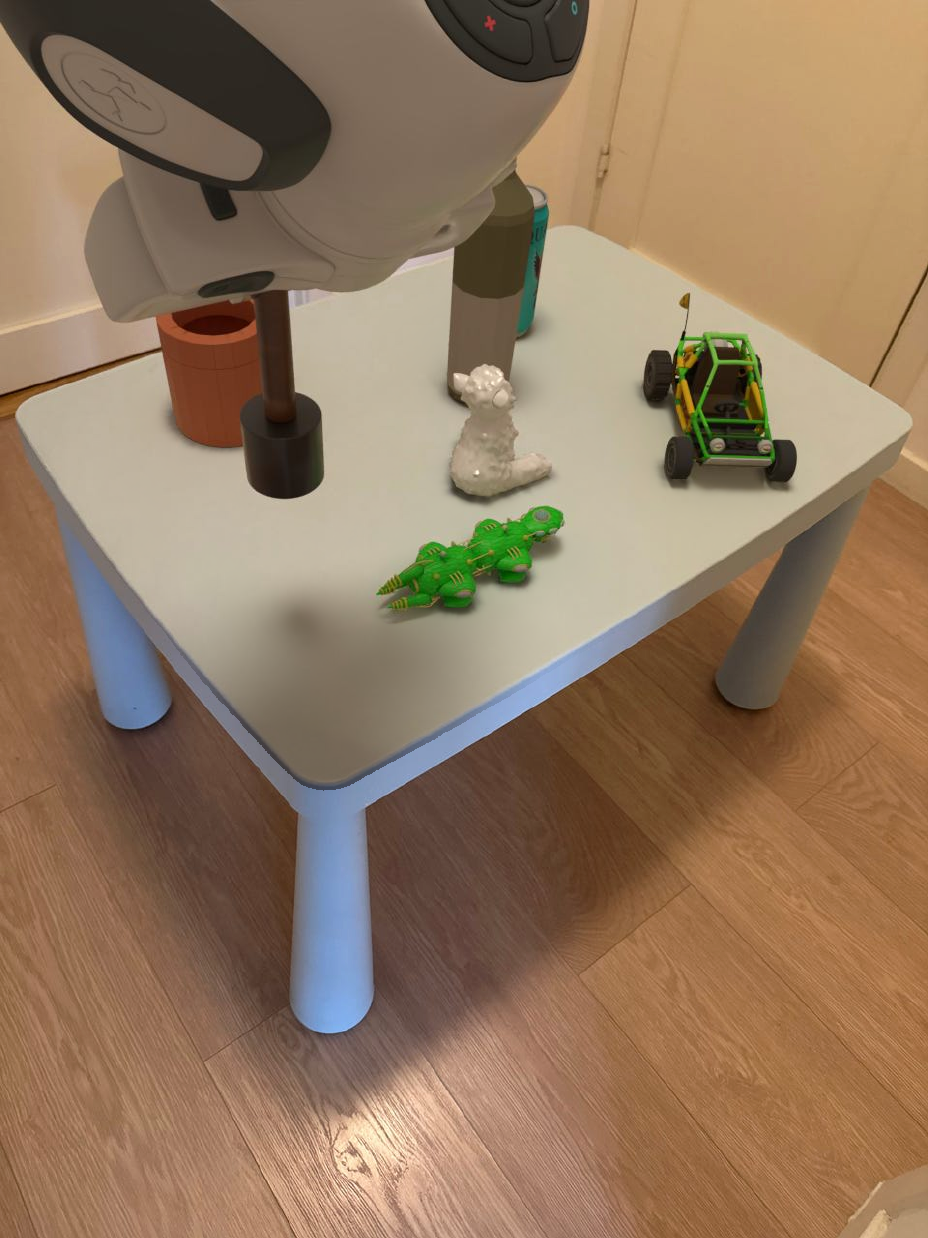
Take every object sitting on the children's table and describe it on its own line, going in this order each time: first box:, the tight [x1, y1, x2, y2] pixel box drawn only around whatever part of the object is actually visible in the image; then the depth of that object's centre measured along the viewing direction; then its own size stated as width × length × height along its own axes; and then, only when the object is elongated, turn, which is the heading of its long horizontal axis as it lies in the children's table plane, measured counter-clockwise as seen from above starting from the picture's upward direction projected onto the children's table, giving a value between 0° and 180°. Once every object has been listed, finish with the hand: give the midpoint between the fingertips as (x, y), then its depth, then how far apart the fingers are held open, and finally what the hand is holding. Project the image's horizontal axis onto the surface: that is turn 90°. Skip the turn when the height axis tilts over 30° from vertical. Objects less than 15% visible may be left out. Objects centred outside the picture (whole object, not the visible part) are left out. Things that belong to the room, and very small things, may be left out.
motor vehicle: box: [643, 292, 798, 483], centre depth 90 cm, size 12×19×11 cm, turn 3°
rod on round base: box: [239, 290, 325, 500], centre depth 54 cm, size 5×5×24 cm
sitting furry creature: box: [448, 364, 553, 498], centre depth 82 cm, size 10×9×12 cm
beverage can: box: [516, 183, 550, 339], centre depth 98 cm, size 6×6×15 cm
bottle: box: [446, 169, 535, 404], centre depth 84 cm, size 7×7×30 cm
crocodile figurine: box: [375, 505, 566, 611], centre depth 77 cm, size 7×18×4 cm, turn 124°
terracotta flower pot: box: [155, 299, 263, 448], centre depth 86 cm, size 10×10×11 cm
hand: (265, 281), depth 53 cm, fingers closed on rod on round base
